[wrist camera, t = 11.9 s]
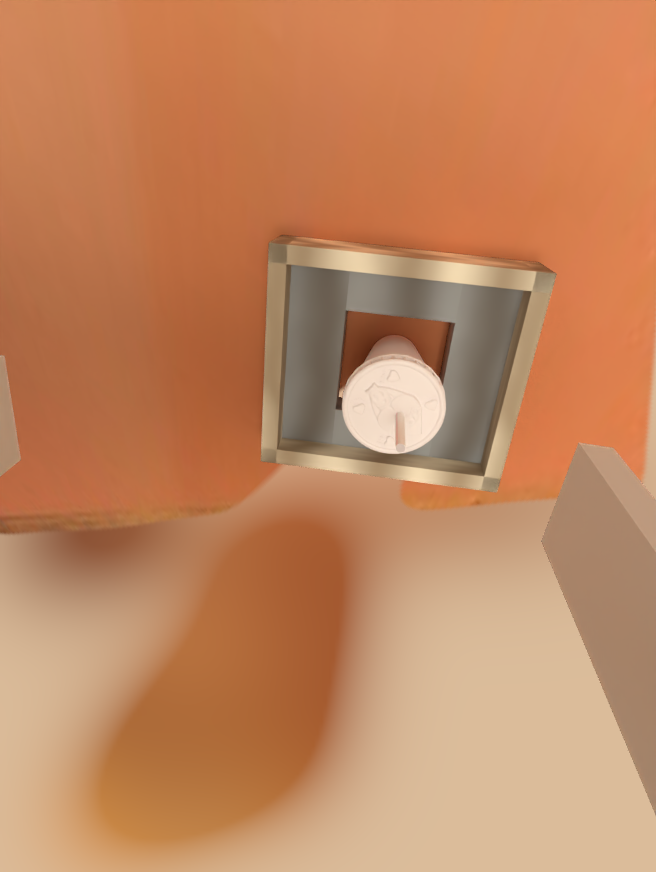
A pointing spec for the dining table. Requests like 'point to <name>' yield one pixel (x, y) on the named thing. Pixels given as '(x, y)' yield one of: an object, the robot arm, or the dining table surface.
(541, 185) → the dining table surface
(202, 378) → the dining table surface
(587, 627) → the robot arm
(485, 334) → the socket box
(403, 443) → the smoothie
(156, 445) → the dining table surface
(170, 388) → the dining table surface
